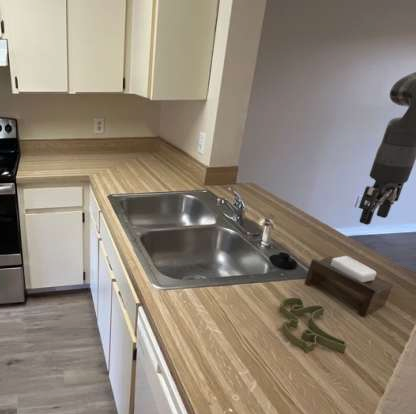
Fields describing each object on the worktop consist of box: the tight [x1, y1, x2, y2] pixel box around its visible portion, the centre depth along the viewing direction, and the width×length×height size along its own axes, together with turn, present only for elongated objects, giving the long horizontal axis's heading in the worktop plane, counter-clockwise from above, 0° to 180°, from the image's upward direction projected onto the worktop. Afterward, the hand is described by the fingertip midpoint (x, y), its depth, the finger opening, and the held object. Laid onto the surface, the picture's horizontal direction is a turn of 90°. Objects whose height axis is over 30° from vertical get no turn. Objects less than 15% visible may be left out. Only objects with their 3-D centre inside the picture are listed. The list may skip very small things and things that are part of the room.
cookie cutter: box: [280, 297, 347, 354], centre depth 82 cm, size 18×12×2 cm, turn 168°
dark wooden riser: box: [304, 255, 394, 318], centre depth 93 cm, size 10×16×8 cm, turn 27°
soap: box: [331, 255, 377, 282], centre depth 91 cm, size 9×6×3 cm, turn 16°
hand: (373, 219), depth 89 cm, fingers open, 8 cm apart
